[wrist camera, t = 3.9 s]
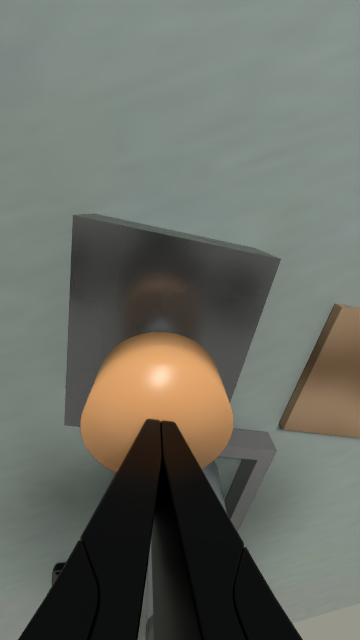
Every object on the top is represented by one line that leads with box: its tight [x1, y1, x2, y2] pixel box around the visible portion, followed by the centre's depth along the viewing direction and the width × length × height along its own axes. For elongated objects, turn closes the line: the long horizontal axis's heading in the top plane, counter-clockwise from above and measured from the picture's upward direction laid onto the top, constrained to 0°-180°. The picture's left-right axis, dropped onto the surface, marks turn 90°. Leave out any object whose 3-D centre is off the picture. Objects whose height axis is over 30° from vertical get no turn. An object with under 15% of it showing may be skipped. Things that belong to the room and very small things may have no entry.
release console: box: [64, 214, 281, 427], centre depth 13 cm, size 10×8×3 cm
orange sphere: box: [81, 332, 233, 473], centre depth 9 cm, size 4×4×4 cm
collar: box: [219, 429, 277, 531], centre depth 19 cm, size 10×10×2 cm
